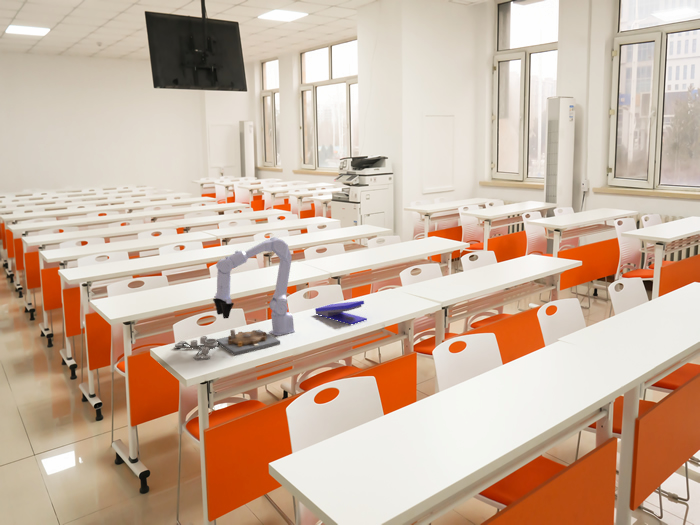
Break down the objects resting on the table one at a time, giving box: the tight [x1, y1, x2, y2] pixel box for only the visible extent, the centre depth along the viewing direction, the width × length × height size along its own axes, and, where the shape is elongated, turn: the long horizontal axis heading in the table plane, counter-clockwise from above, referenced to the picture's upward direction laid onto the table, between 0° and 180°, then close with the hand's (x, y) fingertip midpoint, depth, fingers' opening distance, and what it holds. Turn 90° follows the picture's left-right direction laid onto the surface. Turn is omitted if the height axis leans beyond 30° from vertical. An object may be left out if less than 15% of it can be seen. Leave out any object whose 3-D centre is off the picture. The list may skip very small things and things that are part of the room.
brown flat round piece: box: [227, 329, 267, 346], centre depth 247 cm, size 17×17×5 cm
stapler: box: [314, 300, 368, 325], centre depth 279 cm, size 12×28×10 cm, turn 42°
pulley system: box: [174, 335, 219, 361], centre depth 242 cm, size 27×5×15 cm
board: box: [215, 329, 281, 356], centre depth 247 cm, size 21×22×2 cm
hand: (222, 316), depth 249 cm, fingers open, 7 cm apart
